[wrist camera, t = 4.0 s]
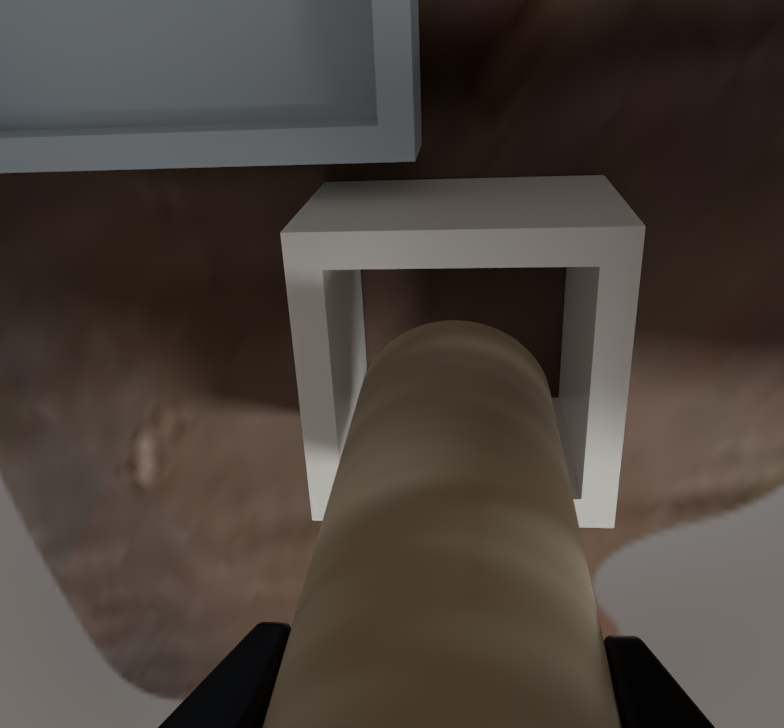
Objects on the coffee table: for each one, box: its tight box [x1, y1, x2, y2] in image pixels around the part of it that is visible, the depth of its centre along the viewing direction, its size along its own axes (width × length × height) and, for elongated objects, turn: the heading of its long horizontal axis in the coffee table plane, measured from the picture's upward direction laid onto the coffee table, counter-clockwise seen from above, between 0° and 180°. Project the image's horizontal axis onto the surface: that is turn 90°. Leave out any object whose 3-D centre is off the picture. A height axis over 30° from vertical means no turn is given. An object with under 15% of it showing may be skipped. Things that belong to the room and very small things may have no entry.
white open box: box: [280, 175, 646, 528], centre depth 18 cm, size 7×7×5 cm
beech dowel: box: [262, 320, 622, 728], centre depth 10 cm, size 4×4×11 cm
